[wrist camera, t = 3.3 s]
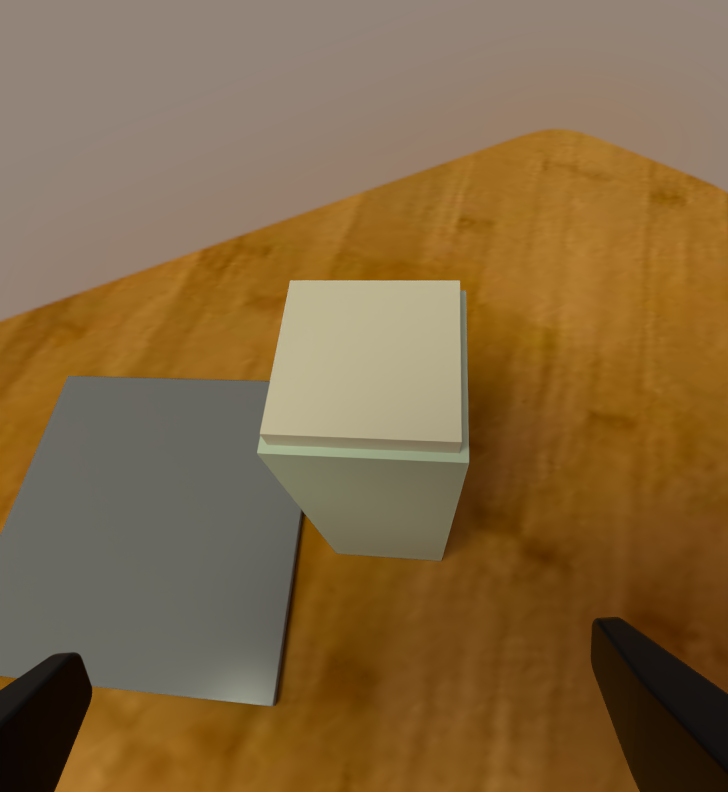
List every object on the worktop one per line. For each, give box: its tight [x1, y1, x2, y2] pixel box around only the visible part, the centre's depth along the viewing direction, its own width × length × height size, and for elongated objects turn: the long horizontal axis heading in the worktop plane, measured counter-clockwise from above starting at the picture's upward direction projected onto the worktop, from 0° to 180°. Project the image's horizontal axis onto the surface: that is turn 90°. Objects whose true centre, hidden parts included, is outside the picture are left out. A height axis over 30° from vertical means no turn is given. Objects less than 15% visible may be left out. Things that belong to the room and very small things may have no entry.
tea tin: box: [257, 281, 469, 561], centre depth 16 cm, size 4×4×13 cm
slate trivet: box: [0, 376, 303, 706], centre depth 22 cm, size 14×14×1 cm
